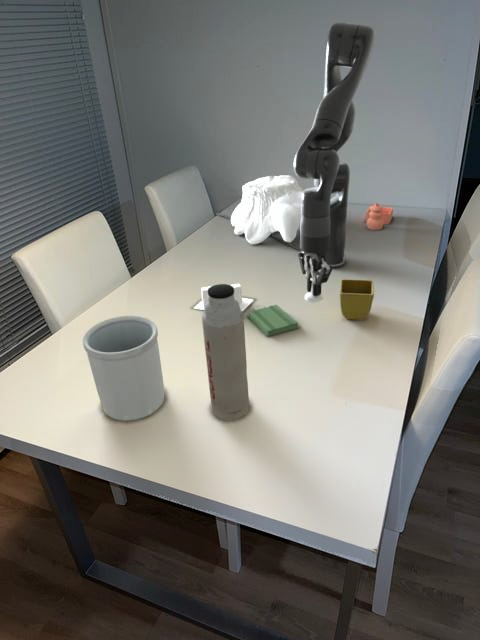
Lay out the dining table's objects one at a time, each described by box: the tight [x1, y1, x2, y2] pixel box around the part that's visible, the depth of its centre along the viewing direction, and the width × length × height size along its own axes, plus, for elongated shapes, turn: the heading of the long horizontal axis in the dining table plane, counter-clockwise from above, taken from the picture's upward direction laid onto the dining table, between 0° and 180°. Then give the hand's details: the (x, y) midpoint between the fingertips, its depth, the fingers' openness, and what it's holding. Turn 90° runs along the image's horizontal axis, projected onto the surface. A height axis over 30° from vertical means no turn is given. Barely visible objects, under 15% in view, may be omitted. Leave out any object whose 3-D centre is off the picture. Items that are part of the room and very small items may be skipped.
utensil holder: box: [82, 315, 165, 421], centre depth 103 cm, size 15×15×18 cm
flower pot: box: [339, 278, 375, 321], centre depth 132 cm, size 9×9×9 cm
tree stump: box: [230, 174, 305, 245], centre depth 197 cm, size 40×37×23 cm
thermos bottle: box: [201, 283, 250, 421], centre depth 97 cm, size 8×8×28 cm
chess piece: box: [304, 275, 324, 303], centre depth 129 cm, size 5×5×10 cm
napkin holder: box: [193, 283, 254, 312], centre depth 144 cm, size 15×11×6 cm
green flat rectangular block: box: [247, 304, 299, 337], centre depth 134 cm, size 12×9×2 cm
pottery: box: [365, 202, 394, 231], centre depth 199 cm, size 18×10×10 cm, turn 157°
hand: (313, 292), depth 130 cm, fingers closed on chess piece
